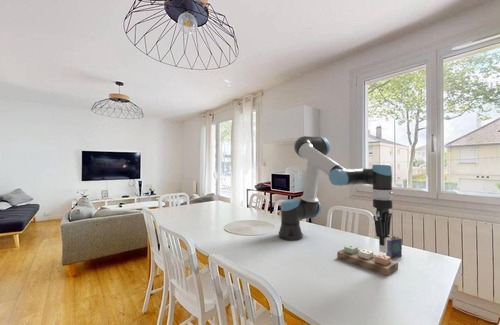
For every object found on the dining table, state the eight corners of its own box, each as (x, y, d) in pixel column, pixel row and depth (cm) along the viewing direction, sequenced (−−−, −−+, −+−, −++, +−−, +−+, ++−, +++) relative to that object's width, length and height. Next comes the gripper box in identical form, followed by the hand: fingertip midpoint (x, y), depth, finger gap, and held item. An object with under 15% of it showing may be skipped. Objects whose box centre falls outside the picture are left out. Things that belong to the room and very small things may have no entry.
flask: (389, 258, 113) (389, 236, 113) (384, 256, 116) (384, 235, 116) (403, 256, 116) (403, 234, 116) (397, 254, 119) (397, 233, 119)
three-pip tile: (375, 261, 103) (375, 255, 103) (379, 259, 105) (379, 253, 105) (386, 265, 99) (385, 259, 99) (390, 262, 102) (390, 256, 102)
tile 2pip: (358, 256, 109) (358, 250, 109) (363, 254, 111) (363, 248, 111) (368, 259, 105) (368, 253, 105) (373, 257, 108) (373, 251, 108)
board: (337, 258, 114) (337, 251, 114) (349, 252, 121) (349, 247, 121) (387, 276, 96) (387, 269, 96) (398, 268, 102) (398, 262, 102)
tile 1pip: (344, 251, 115) (344, 246, 115) (349, 249, 117) (349, 244, 117) (352, 254, 111) (352, 248, 111) (357, 252, 114) (357, 246, 114)
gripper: (384, 201, 95) (385, 258, 95) (397, 198, 103) (398, 251, 103) (366, 199, 101) (367, 252, 101) (380, 196, 109) (381, 246, 109)
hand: (383, 251), depth 102 cm, fingers closed
